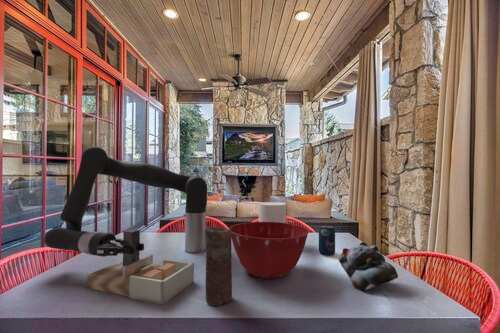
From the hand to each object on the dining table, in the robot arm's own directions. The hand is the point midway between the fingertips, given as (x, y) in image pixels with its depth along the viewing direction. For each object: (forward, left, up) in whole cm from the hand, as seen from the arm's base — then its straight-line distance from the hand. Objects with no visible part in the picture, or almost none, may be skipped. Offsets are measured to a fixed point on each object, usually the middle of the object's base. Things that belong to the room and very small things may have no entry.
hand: (138, 248), depth 82 cm
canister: (-64, -16, -11) cm, 67 cm away
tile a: (-7, +3, -8) cm, 11 cm away
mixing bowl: (-42, +12, -11) cm, 45 cm away
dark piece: (+2, -2, -6) cm, 7 cm away
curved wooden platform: (+3, -3, -11) cm, 12 cm away
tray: (-6, +7, -11) cm, 15 cm away
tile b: (-2, +7, -8) cm, 11 cm away
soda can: (-75, +9, -11) cm, 76 cm away
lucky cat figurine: (-63, +37, -11) cm, 74 cm away
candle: (-18, +22, -11) cm, 30 cm away
